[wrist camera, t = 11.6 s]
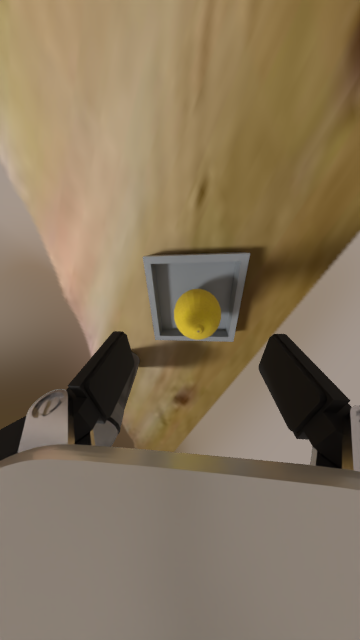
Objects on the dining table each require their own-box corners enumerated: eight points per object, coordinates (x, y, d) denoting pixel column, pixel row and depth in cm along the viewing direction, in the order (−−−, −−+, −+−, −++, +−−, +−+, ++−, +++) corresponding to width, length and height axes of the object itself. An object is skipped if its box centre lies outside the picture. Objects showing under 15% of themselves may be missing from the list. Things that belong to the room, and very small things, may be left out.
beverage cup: (131, 340, 25) (-6, 552, 8) (153, 365, 28) (89, 563, 11) (103, 352, 27) (-51, 540, 10) (126, 375, 30) (37, 552, 13)
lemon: (178, 317, 22) (171, 352, 15) (176, 282, 19) (167, 304, 12) (213, 318, 21) (224, 354, 14) (217, 281, 18) (232, 304, 11)
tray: (148, 255, 18) (142, 256, 16) (242, 252, 17) (250, 253, 15) (158, 331, 24) (155, 339, 22) (229, 332, 23) (233, 341, 21)
